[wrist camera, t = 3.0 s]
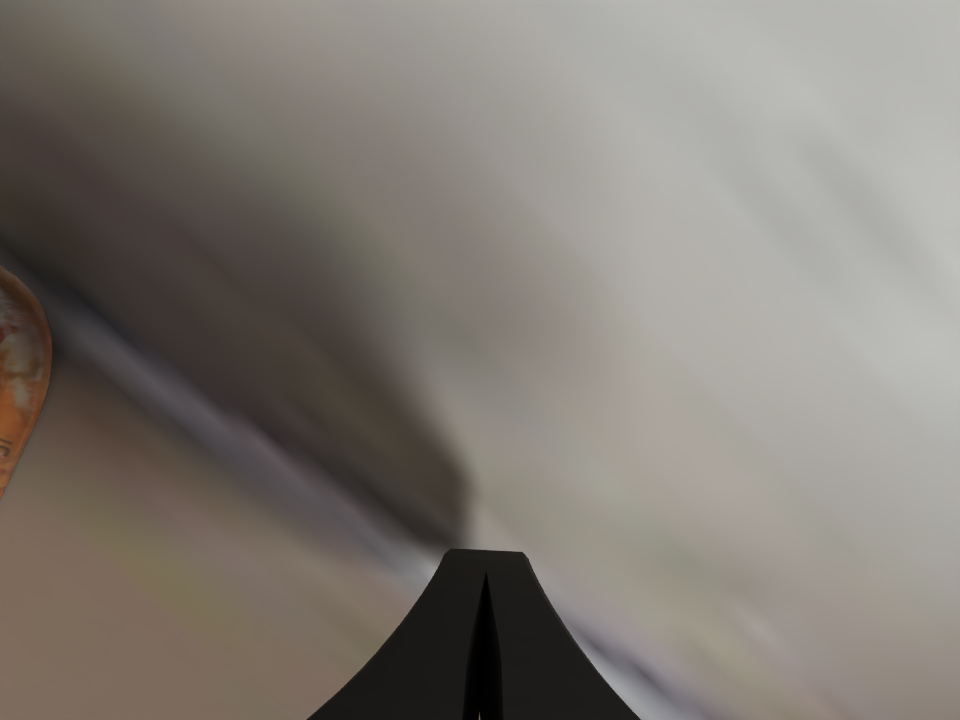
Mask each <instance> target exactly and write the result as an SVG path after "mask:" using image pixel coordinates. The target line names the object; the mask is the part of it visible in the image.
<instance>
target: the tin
mask: <svg viewBox="0 0 960 720" xmlns="http://www.w3.org/2000/svg"><path fill="white" fill-rule="evenodd" d="M51 365H52V337H51V331H50V327H49V323H48V320H47V317H46V314H45V311H44V309H43V308H42V306H41V304H40V302H39V301H38V299H37V298H36V297H35V295H34V294H33V293H32V291H31V290H30V289H29V288H28V287H27V286H26V285H25V284H24V283H23V282H22V281H21V280H20V279H19V278H18V277H17V276H15V275H14V274H12V273H11V272H9V271H8V270H6V269H5V268H3V267H2V266H0V499H1V497H2V494H3V492H4V490H5V488H6V486H7V484H8V482H9V480H10V477H11V475H12V473H13V471H14V468H15V466H16V464H17V462H18V460H19V458H20V456H21V454H22V452H23V449H24V447H25V445H26V443H27V440H28V438H29V436H30V434H31V432H32V430H33V428H34V425H35V423H36V420H37V418H38V416H39V413H40V411H41V408H42V406H43V403H44V400H45V397H46V393H47V389H48V386H49V379H50V373H51Z"/></svg>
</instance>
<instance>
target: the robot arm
mask: <svg viewBox="0 0 960 720" xmlns="http://www.w3.org/2000/svg"><path fill="white" fill-rule="evenodd" d="M479 713H480V720H641V719H640V718H639V717H638V716H637V715H636V714H635V713H634V712H633V711H632V710H631V709H630V708H629V707H628V706H627V705H626V703H625V702H624V701H623V700H622V699H621V698H620V697H619V696H618V695H617V694H616V692H615V691H614V690H613V689H612V688H611V687H610V685H609V684H608V683H607V682H606V681H605V680H604V678H603V677H602V676H601V675H600V673H599V672H598V671H597V670H596V668H595V667H594V666H593V664H592V663H591V662H590V660H589V659H588V658H587V656H586V655H585V654H584V653H583V651H582V650H581V649H580V647H579V646H578V644H577V643H576V641H575V640H574V639H573V637H572V636H571V634H570V633H569V631H568V630H567V628H566V627H565V625H564V624H563V622H562V620H561V619H560V617H559V616H558V614H557V613H556V611H555V610H554V608H553V606H552V605H551V603H550V601H549V600H548V598H547V596H546V594H545V592H544V591H543V589H542V587H541V585H540V583H539V581H538V579H537V577H536V575H535V573H534V571H533V569H532V567H531V564H530V562H529V559H528V558H527V557H526V555H525V554H524V553H523V552H512V551H491V550H470V549H450V550H449V551H448V552H446V553H445V554H444V556H443V558H442V561H441V563H440V565H439V567H438V569H437V570H436V572H435V574H434V576H433V577H432V579H431V581H430V582H429V584H428V585H427V587H426V589H425V590H424V592H423V593H422V595H421V596H420V597H419V599H418V600H417V602H416V603H415V604H414V606H413V607H412V609H411V610H410V612H409V613H408V614H407V616H406V617H405V618H404V620H403V621H402V622H401V624H400V625H399V626H398V627H397V628H396V630H395V631H394V632H393V633H392V634H391V636H390V637H389V638H388V639H387V641H386V642H385V643H384V644H383V645H382V647H381V648H380V649H379V650H378V651H377V652H376V654H375V655H374V656H373V657H372V658H371V659H370V660H369V661H368V662H367V663H366V665H365V666H364V667H363V668H362V669H361V670H360V671H359V672H358V673H357V674H356V675H355V676H354V677H353V678H352V679H351V680H350V681H349V682H348V683H347V684H346V685H345V686H344V687H343V688H342V689H341V690H340V691H338V692H337V693H336V694H335V695H334V696H333V697H332V698H331V699H330V700H328V701H327V702H326V703H325V704H324V705H323V706H322V707H320V708H319V709H318V710H317V711H316V712H315V713H314V714H312V715H311V716H310V717H309V718H308V719H307V720H479Z"/></svg>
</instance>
